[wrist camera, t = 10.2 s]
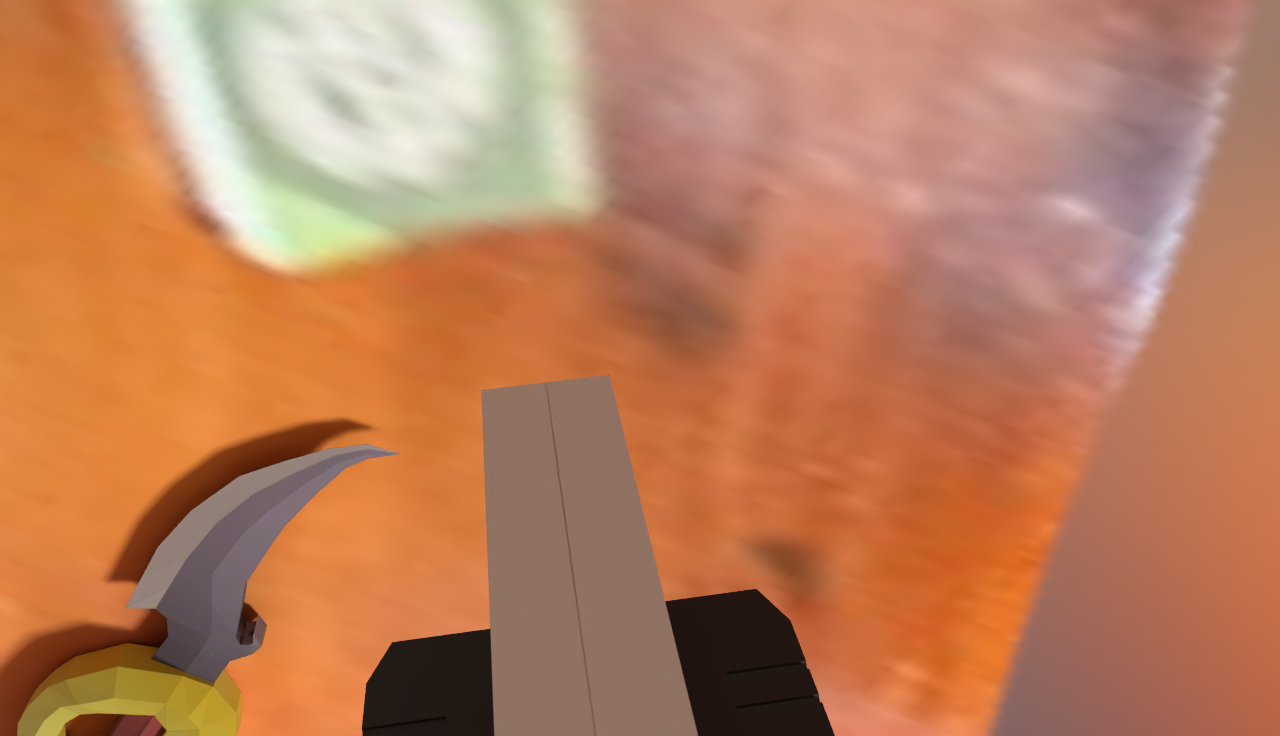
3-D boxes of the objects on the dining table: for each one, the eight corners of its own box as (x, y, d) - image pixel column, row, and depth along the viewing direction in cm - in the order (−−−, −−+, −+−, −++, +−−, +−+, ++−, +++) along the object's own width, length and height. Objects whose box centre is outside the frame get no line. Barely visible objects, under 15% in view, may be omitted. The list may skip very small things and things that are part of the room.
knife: (255, 357, 43) (-31, 783, 51) (243, 391, 41) (-55, 832, 48) (435, 454, 46) (139, 843, 54) (433, 491, 44) (124, 892, 51)
